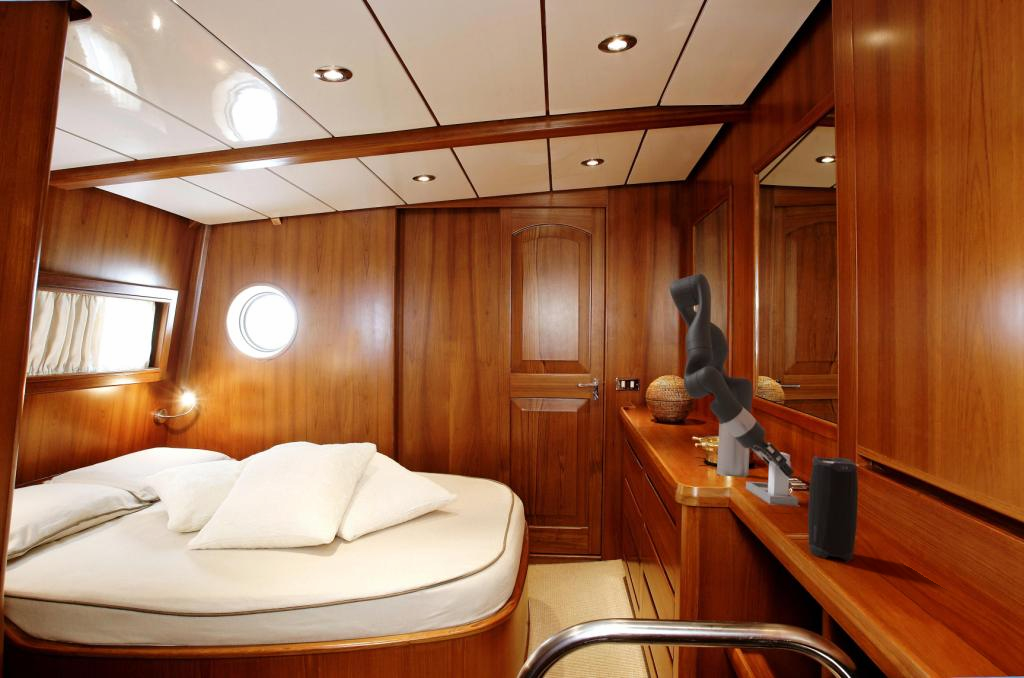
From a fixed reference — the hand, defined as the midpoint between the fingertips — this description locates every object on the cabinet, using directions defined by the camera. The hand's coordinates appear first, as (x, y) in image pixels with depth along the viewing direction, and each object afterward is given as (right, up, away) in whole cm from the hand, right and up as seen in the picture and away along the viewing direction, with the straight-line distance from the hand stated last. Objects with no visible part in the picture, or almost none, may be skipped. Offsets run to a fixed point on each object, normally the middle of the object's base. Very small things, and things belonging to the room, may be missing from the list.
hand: (783, 471), depth 151 cm
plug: (-2, -8, 0) cm, 8 cm away
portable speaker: (-9, -8, -38) cm, 40 cm away
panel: (-2, -9, +4) cm, 10 cm away
